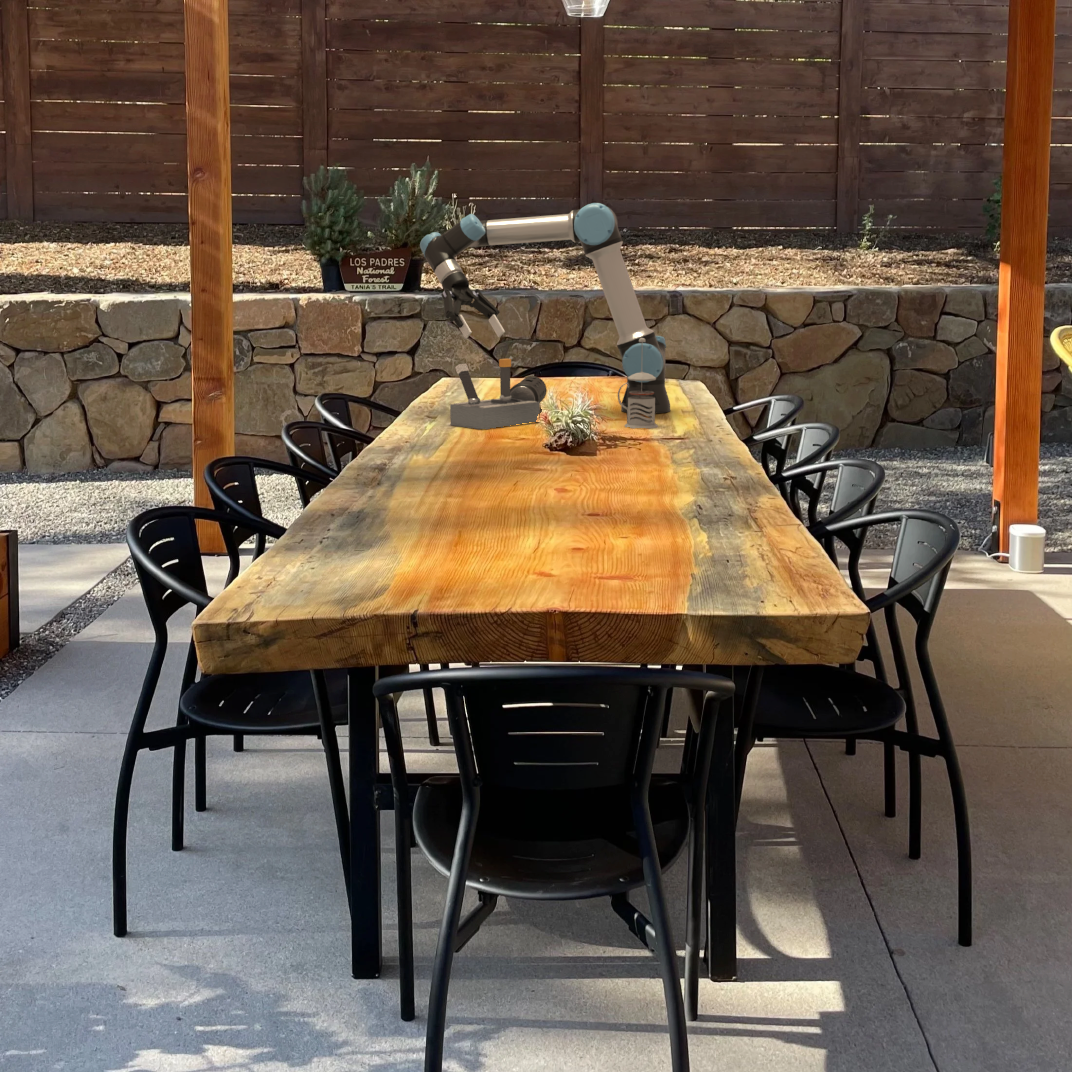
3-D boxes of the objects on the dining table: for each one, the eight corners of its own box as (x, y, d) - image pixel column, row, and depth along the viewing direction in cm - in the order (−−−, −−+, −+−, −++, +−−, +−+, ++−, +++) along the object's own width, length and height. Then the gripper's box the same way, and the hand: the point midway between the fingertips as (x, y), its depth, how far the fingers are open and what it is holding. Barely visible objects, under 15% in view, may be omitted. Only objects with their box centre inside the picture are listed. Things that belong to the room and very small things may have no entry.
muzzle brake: (547, 407, 432) (547, 375, 430) (537, 419, 405) (537, 384, 402) (517, 407, 433) (517, 374, 431) (505, 418, 406) (505, 384, 403)
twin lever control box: (507, 418, 405) (506, 359, 402) (539, 422, 396) (539, 362, 392) (450, 425, 391) (449, 364, 387) (482, 429, 381) (481, 367, 377)
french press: (656, 429, 381) (657, 339, 376) (615, 428, 383) (616, 338, 378) (660, 424, 390) (661, 336, 385) (620, 423, 393) (620, 336, 387)
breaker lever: (507, 400, 396) (506, 358, 394) (511, 400, 395) (511, 358, 392) (499, 401, 394) (498, 359, 392) (503, 401, 393) (503, 359, 390)
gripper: (475, 287, 414) (508, 342, 408) (414, 286, 396) (447, 343, 390) (488, 271, 410) (521, 326, 403) (427, 269, 392) (461, 327, 385)
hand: (485, 335), depth 396 cm, fingers open, 13 cm apart
